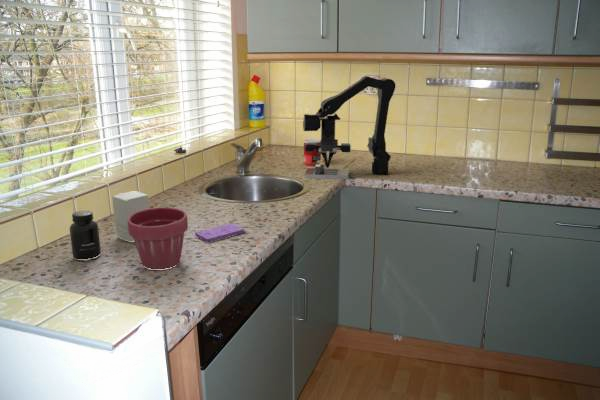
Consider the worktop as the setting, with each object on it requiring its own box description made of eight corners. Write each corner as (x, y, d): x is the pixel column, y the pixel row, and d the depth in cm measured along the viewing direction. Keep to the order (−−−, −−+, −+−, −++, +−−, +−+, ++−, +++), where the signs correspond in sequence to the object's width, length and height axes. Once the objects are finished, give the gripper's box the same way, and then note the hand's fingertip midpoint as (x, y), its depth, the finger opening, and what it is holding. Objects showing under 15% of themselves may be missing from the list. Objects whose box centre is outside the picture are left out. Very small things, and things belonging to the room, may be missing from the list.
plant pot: (176, 278, 120) (172, 227, 116) (121, 273, 122) (115, 223, 119) (198, 254, 134) (195, 208, 130) (148, 251, 136) (144, 205, 132)
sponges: (195, 238, 147) (194, 231, 146) (231, 228, 154) (231, 222, 154) (207, 245, 141) (207, 238, 141) (244, 234, 149) (244, 228, 149)
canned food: (314, 166, 230) (314, 142, 226) (300, 164, 234) (300, 141, 231) (323, 163, 235) (324, 140, 232) (310, 161, 240) (310, 138, 237)
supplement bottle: (88, 263, 128) (82, 218, 125) (67, 259, 131) (60, 215, 127) (107, 253, 134) (102, 210, 131) (87, 250, 137) (81, 207, 133)
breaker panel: (348, 172, 219) (349, 160, 217) (347, 179, 208) (348, 166, 207) (307, 171, 221) (307, 159, 220) (304, 177, 211) (304, 165, 209)
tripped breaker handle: (324, 170, 216) (324, 161, 215) (324, 171, 213) (324, 163, 212) (319, 170, 216) (319, 161, 215) (319, 171, 213) (319, 163, 212)
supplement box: (153, 236, 146) (149, 194, 143) (129, 243, 141) (125, 200, 137) (139, 230, 151) (135, 189, 147) (116, 237, 146) (111, 195, 142)
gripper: (303, 133, 203) (303, 171, 207) (350, 134, 200) (349, 172, 205) (306, 129, 213) (306, 165, 218) (351, 129, 211) (350, 166, 216)
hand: (327, 167), depth 214 cm, fingers closed
